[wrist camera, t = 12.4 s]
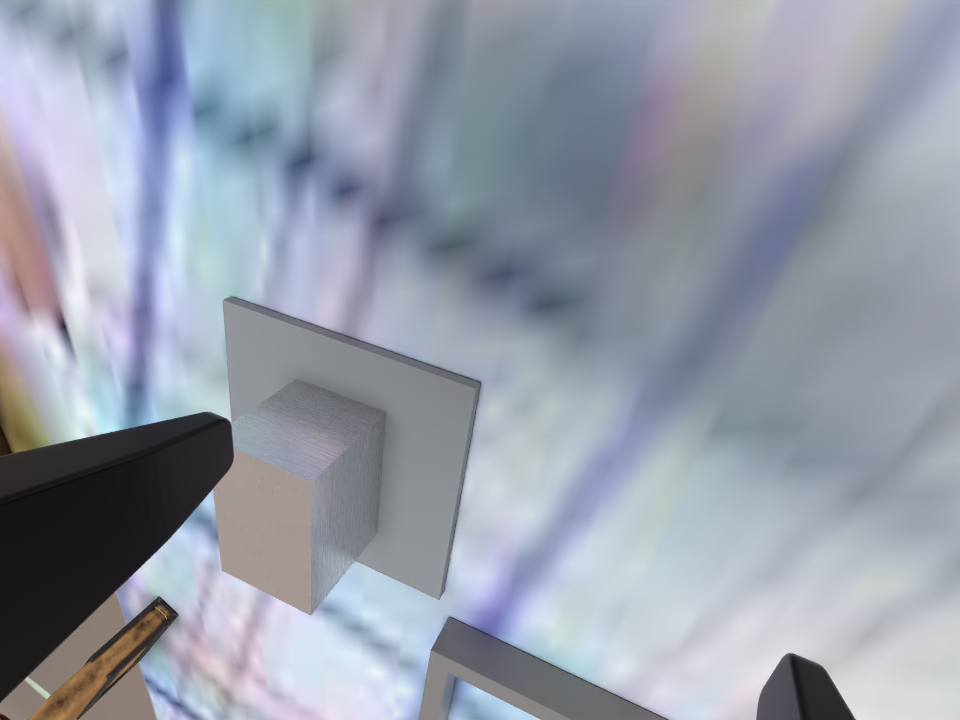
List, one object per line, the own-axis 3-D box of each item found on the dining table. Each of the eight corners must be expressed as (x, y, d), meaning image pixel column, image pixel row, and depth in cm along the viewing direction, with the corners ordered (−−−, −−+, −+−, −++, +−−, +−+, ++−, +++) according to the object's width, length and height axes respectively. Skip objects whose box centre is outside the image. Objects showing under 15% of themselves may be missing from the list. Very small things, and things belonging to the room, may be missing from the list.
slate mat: (480, 382, 22) (475, 388, 22) (443, 592, 28) (438, 599, 27) (231, 296, 25) (222, 300, 25) (244, 500, 31) (237, 505, 30)
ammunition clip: (138, 661, 45) (-33, 825, 35) (122, 645, 45) (-54, 804, 35) (179, 614, 39) (-13, 794, 29) (159, 595, 39) (-39, 769, 29)
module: (386, 412, 24) (311, 482, 20) (376, 533, 27) (310, 615, 23) (296, 378, 25) (208, 437, 21) (298, 499, 28) (222, 570, 24)
